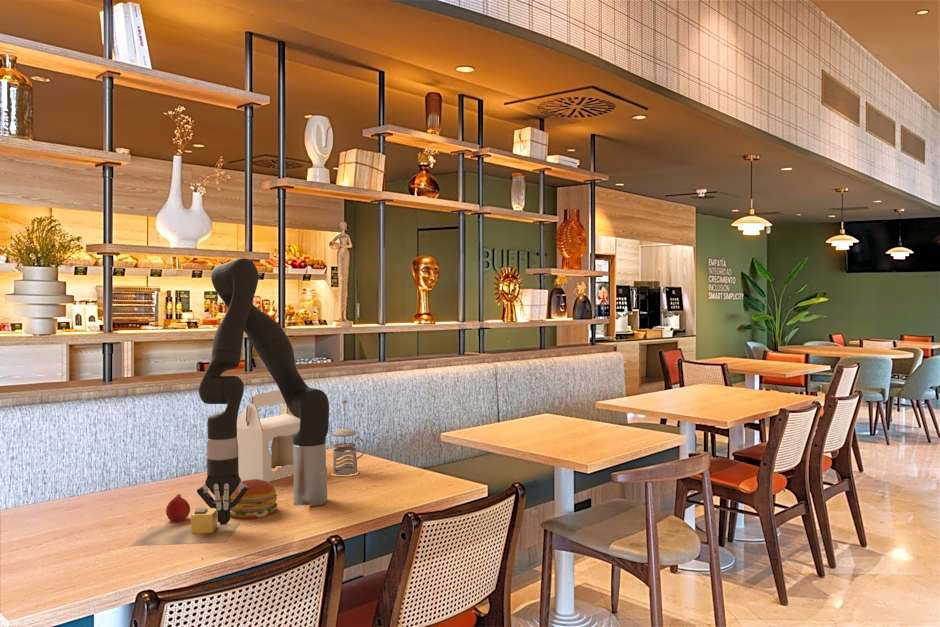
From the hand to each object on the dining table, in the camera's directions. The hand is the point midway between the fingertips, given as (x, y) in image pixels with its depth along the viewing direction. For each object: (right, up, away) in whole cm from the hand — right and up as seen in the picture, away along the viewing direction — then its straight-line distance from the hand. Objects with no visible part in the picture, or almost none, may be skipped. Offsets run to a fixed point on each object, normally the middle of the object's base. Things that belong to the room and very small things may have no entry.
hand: (223, 523), depth 186 cm
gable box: (-5, -2, +62) cm, 62 cm away
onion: (-15, -3, +9) cm, 17 cm away
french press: (+21, -1, +64) cm, 67 cm away
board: (-8, -3, -5) cm, 10 cm away
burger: (+3, -3, +15) cm, 16 cm away
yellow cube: (-5, -1, 0) cm, 5 cm away
